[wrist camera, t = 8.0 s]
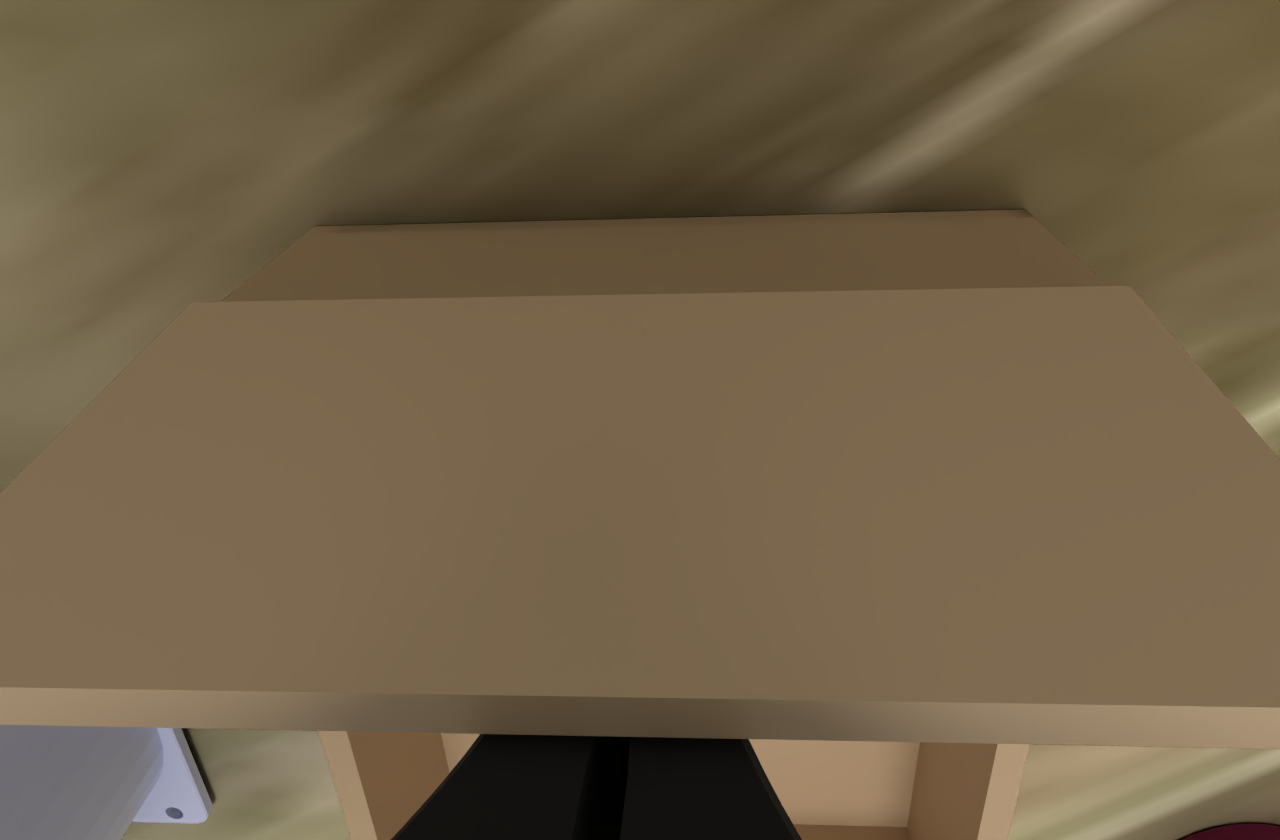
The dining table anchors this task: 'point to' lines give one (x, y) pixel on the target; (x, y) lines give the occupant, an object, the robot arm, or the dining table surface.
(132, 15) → the dining table surface
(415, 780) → the carton
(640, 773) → the robot arm
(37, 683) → the flap
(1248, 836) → the cup
